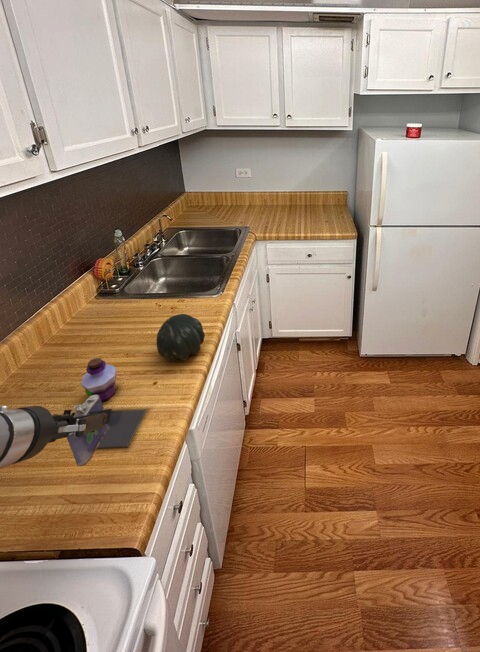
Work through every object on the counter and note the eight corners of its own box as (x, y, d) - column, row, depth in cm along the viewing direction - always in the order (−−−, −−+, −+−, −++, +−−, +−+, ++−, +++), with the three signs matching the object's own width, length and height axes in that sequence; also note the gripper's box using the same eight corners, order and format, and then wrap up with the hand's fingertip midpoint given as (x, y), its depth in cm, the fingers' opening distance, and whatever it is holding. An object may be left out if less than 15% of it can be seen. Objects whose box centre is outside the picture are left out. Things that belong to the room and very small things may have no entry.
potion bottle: (79, 406, 90) (67, 373, 86) (99, 381, 98) (89, 349, 94) (110, 407, 90) (99, 374, 86) (128, 382, 98) (119, 350, 94)
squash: (213, 319, 117) (178, 296, 110) (211, 349, 104) (171, 326, 97) (185, 344, 119) (149, 324, 112) (180, 378, 105) (139, 357, 99)
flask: (87, 466, 64) (72, 427, 60) (71, 467, 64) (55, 428, 60) (111, 423, 73) (100, 386, 69) (98, 423, 72) (85, 387, 68)
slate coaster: (85, 448, 80) (85, 447, 79) (107, 412, 89) (107, 411, 89) (127, 447, 80) (127, 446, 80) (145, 410, 89) (145, 409, 89)
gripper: (72, 406, 51) (141, 395, 72) (-36, 409, 50) (66, 397, 72) (58, 464, 48) (134, 435, 70) (-56, 468, 47) (57, 437, 69)
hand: (100, 416), depth 71 cm, fingers closed on flask, 3 cm apart
